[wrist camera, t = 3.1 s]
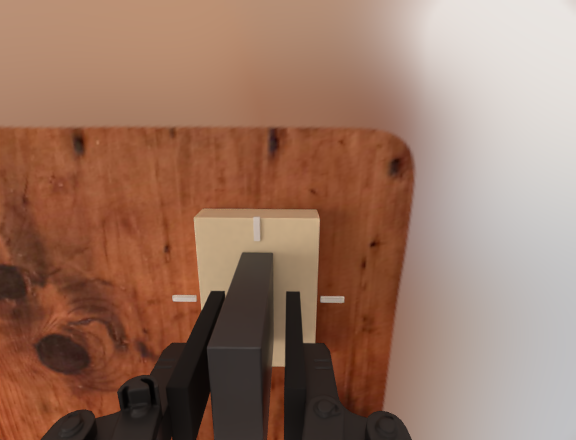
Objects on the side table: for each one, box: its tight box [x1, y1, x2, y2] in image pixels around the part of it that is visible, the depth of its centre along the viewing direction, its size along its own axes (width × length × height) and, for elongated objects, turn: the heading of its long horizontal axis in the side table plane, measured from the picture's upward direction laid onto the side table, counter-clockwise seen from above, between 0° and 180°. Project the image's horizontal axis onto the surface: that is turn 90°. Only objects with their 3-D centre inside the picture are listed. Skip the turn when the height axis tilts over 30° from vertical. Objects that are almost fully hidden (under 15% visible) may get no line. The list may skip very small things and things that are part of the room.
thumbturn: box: [207, 252, 274, 440], centre depth 15 cm, size 6×2×8 cm, turn 0°
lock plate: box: [172, 209, 344, 366], centre depth 20 cm, size 10×10×2 cm
